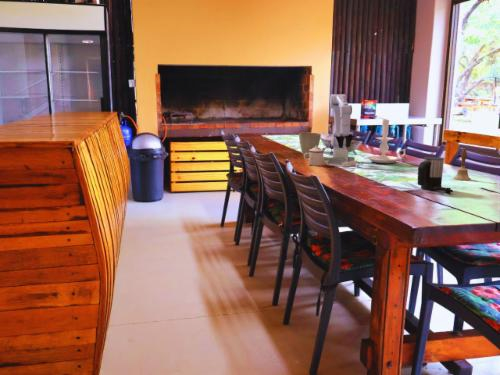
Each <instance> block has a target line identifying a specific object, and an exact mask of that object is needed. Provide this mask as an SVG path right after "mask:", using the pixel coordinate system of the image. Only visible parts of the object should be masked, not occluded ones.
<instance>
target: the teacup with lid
mask: <svg viewBox="0 0 500 375" xmlns="http://www.w3.org/2000/svg"><path fill="white" fill-rule="evenodd" d="M324 152H325V151H324V149H322V148H320V147H319V146H315V148H312V149H310V150H309V153H305V154H304V156H303V158H304V160H305V161H306V162H308V164H309V166H311V167H312V166H313V167H314V166H315V167H320V166H321V167H322V166H323V165H324ZM306 154H309V158H308V159H307V158H306V157H305V155H306Z"/></svg>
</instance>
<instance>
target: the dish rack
mask: <svg viewBox="0 0 500 375" xmlns="http://www.w3.org/2000/svg"><path fill="white" fill-rule="evenodd" d="M355 158H356V156H355V157H354V156H348V162H347V159H346V158H338V157H333V156H332V157H328V160H326V161H325V165H327V166H331V167H333V166H334V167H339V168H346V167H351V165H352V166H356V165H355V164H357V162H358V161H357V160H356V159H355Z"/></svg>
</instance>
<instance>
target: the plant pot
mask: <svg viewBox="0 0 500 375" xmlns="http://www.w3.org/2000/svg"><path fill="white" fill-rule="evenodd" d="M321 136H322V134H321V133H317V132H302V133H301V132H300V133H298V138H299V139H298V140H299V145H300V150H301V153H302V156H303V157H304V154H305V153H309V150H310V149H312V148H315V146H318V147H319V145H320V142H321ZM305 158H306V159H307V158H308V159H309V154H306V155H305Z"/></svg>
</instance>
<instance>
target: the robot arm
mask: <svg viewBox="0 0 500 375" xmlns="http://www.w3.org/2000/svg"><path fill="white" fill-rule="evenodd" d="M329 106H330V109H332V111H333V120H334V132H333V133H332V134H331V137H330V145H331V146H332V147H333V150H332V158H333V157H335V156H336V150H337V149H338V150H347V151H348V148H350V147H351V143H352V141H353V139H354V137H355V136H354V131H351V117H352V113H353V106H352V105H351V104H350V105H349V103H348V102H347V95H346V93H344V94H342V93H341V94H339V93H338V94H337V93H336V94H335V93H334V94H333V93H331V94H330V96H329Z"/></svg>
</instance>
